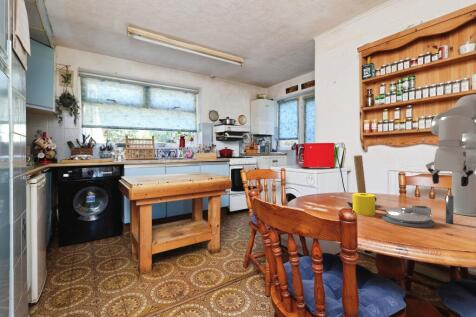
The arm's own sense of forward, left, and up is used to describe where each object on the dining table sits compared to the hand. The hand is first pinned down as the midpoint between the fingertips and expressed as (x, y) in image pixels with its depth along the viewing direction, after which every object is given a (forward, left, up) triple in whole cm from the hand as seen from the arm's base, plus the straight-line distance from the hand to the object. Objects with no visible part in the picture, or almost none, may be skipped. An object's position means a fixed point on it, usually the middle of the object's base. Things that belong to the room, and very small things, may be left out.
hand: (449, 184), depth 99 cm
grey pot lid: (+12, -10, -15) cm, 22 cm away
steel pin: (-1, 0, -17) cm, 17 cm away
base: (+12, -10, -17) cm, 23 cm away
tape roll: (+16, -28, -17) cm, 37 cm away
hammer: (+5, -37, -17) cm, 41 cm away
